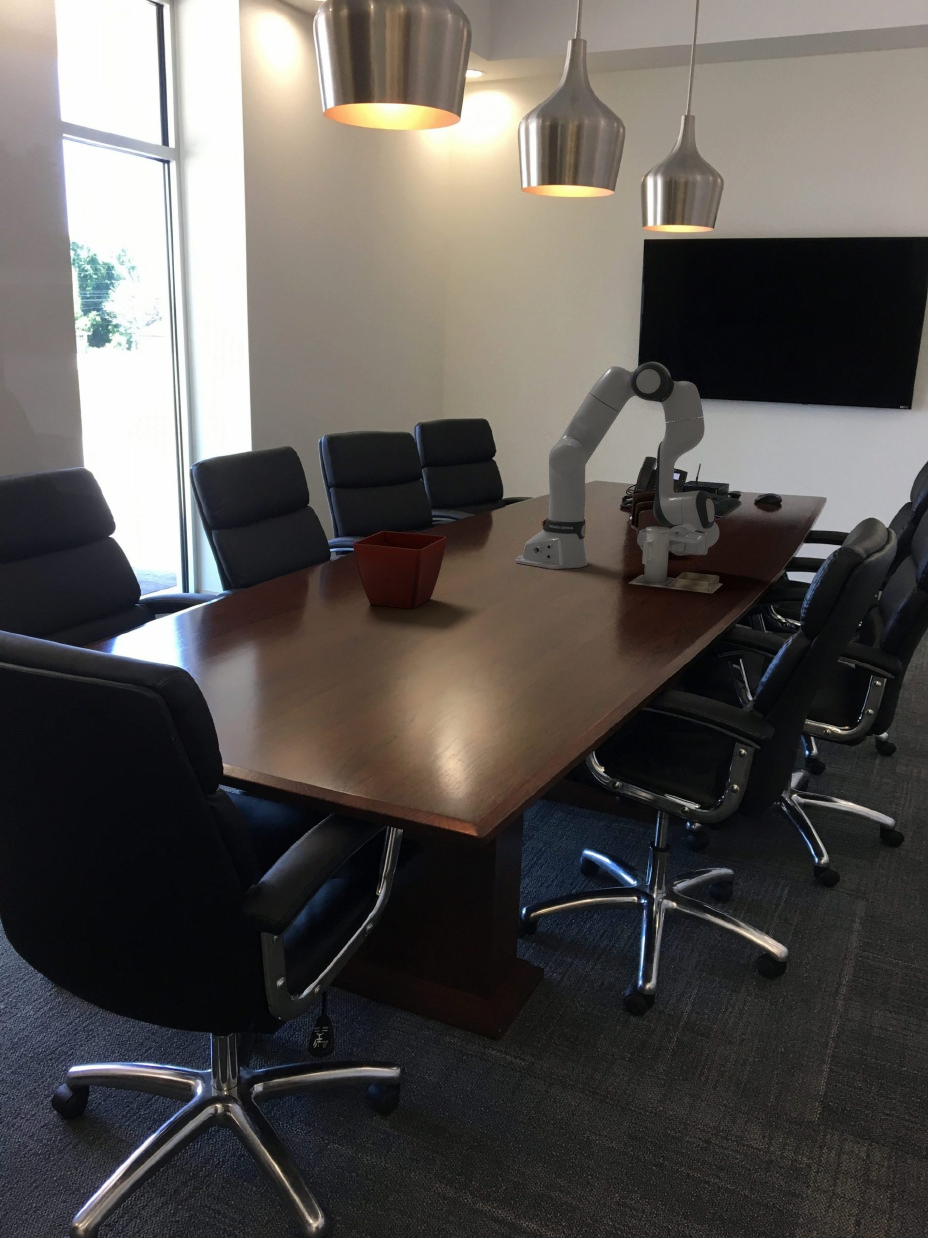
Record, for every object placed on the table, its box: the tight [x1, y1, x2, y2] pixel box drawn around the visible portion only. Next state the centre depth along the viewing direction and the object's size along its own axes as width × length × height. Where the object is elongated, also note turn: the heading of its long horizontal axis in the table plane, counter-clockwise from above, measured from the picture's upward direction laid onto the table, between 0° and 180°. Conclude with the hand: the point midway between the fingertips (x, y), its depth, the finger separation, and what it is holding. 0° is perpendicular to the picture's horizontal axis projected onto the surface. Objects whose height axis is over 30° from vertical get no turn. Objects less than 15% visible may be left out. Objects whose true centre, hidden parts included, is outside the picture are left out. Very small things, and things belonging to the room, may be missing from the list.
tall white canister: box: [641, 526, 671, 583], centre depth 285 cm, size 10×7×15 cm
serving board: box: [628, 571, 723, 594], centre depth 286 cm, size 24×13×4 cm, turn 64°
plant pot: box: [352, 530, 447, 610], centre depth 263 cm, size 19×19×17 cm
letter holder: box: [630, 490, 683, 533], centre depth 375 cm, size 10×20×14 cm, turn 97°
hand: (656, 546), depth 285 cm, fingers open, 8 cm apart
